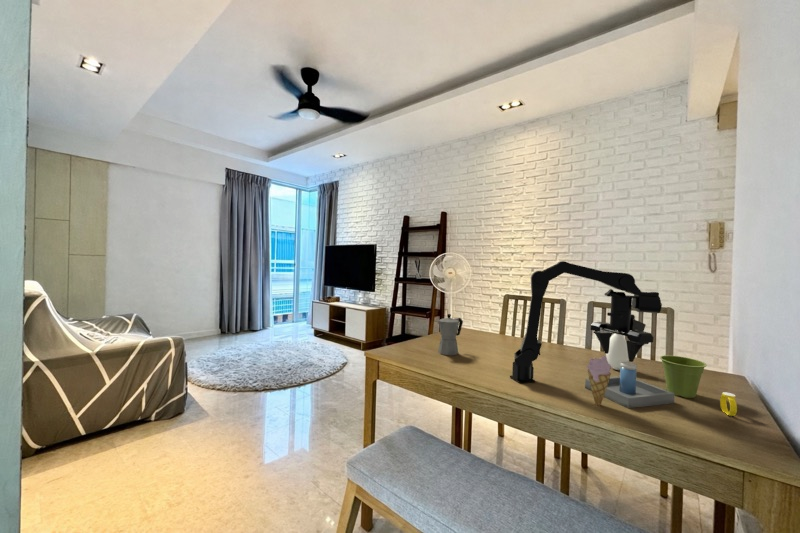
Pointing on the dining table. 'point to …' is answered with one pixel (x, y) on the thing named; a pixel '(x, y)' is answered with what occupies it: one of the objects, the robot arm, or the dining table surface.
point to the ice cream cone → (599, 377)
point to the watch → (731, 400)
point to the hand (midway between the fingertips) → (618, 357)
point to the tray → (643, 396)
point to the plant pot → (682, 375)
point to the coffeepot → (449, 335)
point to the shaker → (628, 378)
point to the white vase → (617, 351)
